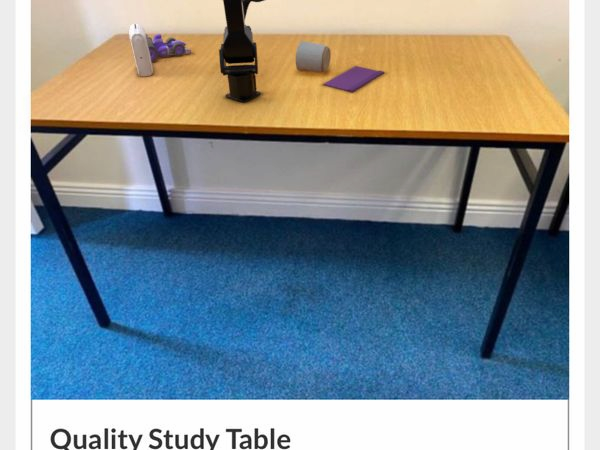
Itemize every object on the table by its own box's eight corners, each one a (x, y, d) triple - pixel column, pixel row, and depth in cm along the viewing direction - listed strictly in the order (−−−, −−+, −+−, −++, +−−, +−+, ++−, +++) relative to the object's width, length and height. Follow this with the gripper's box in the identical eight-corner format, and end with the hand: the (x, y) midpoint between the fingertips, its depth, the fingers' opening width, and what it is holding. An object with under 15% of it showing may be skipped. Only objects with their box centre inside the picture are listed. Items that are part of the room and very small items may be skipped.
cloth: (352, 92, 119) (352, 90, 118) (323, 85, 123) (323, 83, 123) (384, 73, 129) (384, 71, 128) (355, 67, 133) (355, 65, 133)
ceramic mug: (323, 77, 127) (324, 48, 123) (295, 74, 129) (294, 45, 125) (334, 64, 135) (335, 36, 130) (307, 62, 137) (307, 34, 133)
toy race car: (193, 54, 145) (189, 32, 141) (144, 64, 139) (139, 41, 135) (182, 46, 151) (179, 25, 147) (136, 55, 146) (130, 33, 142)
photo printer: (154, 75, 131) (144, 29, 124) (138, 77, 131) (127, 31, 123) (152, 63, 139) (142, 19, 132) (137, 65, 138) (126, 21, 131)
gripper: (285, -43, 117) (287, 23, 126) (230, -49, 126) (236, 14, 135) (255, -36, 110) (260, 33, 119) (199, -43, 119) (208, 23, 128)
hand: (241, 25), depth 126 cm, fingers closed
